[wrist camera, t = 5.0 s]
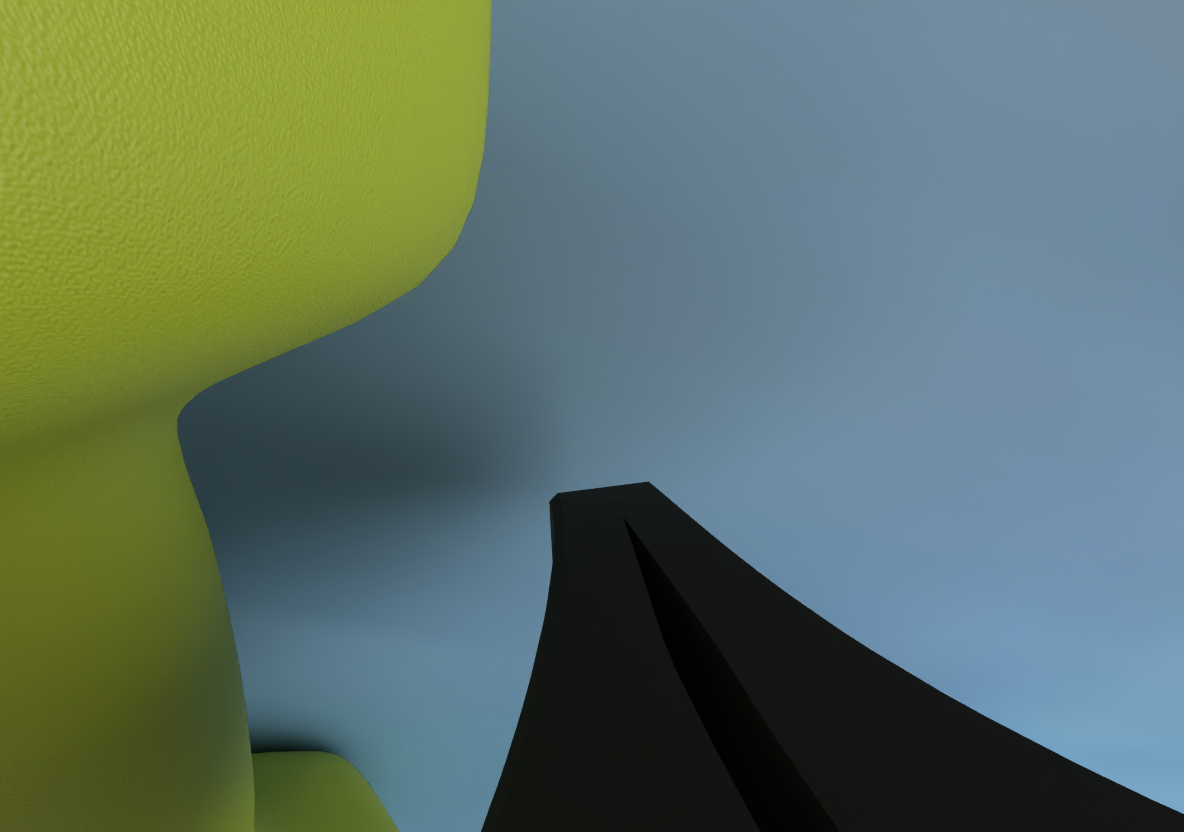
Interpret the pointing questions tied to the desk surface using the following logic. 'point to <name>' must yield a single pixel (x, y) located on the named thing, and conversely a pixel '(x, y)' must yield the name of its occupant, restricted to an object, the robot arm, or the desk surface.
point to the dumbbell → (187, 358)
